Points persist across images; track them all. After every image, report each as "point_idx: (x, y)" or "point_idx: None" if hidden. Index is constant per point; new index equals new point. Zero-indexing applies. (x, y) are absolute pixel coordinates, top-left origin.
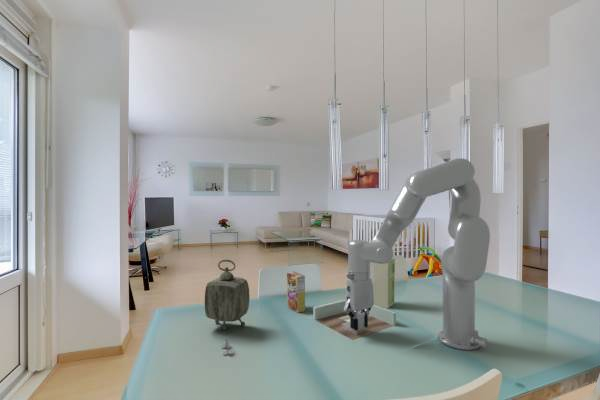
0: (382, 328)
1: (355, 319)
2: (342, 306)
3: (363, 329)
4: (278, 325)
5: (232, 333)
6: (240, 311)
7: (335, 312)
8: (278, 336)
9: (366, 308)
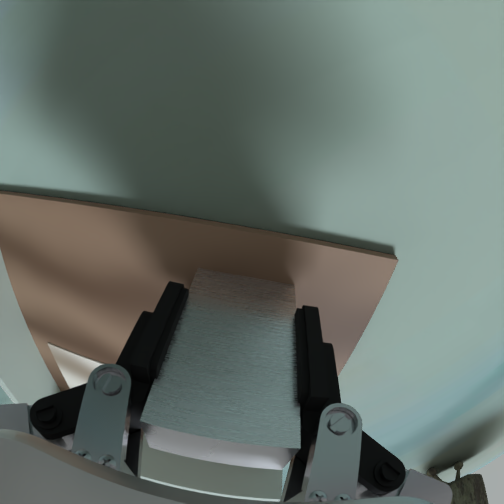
0: (50, 212)
1: (319, 401)
2: None
3: (211, 287)
4: None
5: (469, 451)
6: (473, 493)
7: None
8: (463, 424)
9: (154, 490)
